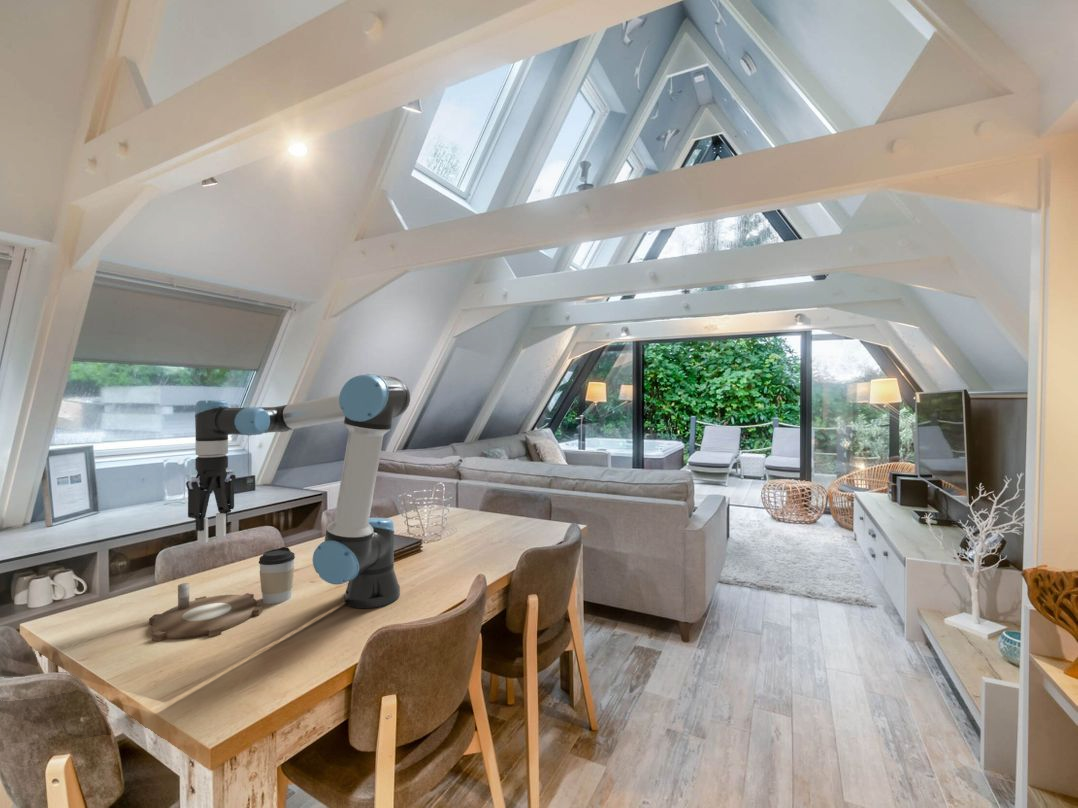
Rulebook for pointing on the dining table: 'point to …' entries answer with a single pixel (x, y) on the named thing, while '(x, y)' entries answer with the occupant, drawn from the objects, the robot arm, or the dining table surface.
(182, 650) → the dining table surface
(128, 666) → the dining table surface
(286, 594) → the coffee cup
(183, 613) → the index disc
